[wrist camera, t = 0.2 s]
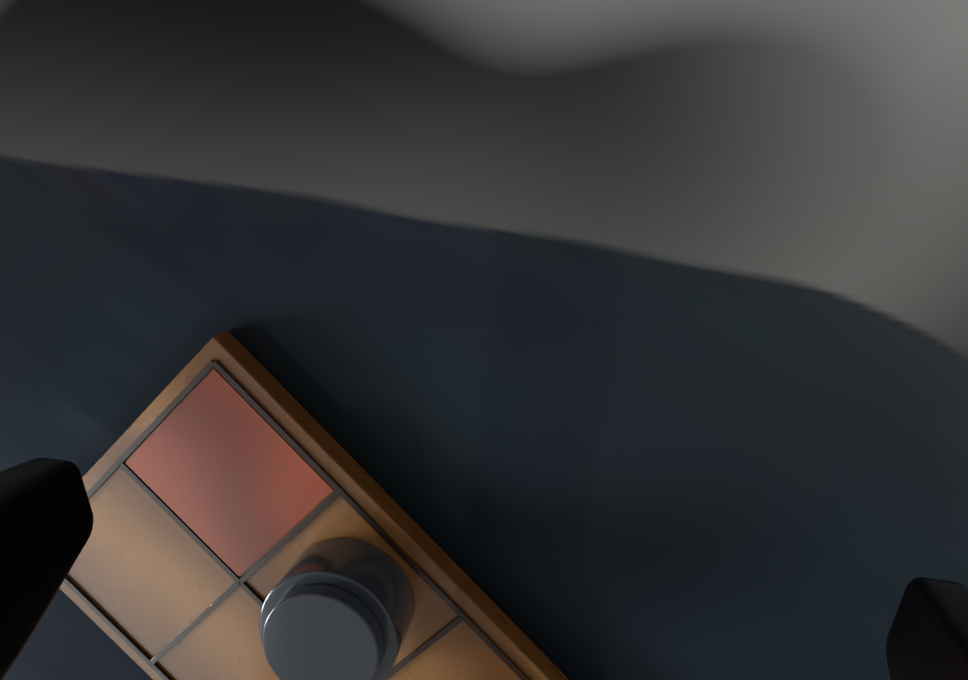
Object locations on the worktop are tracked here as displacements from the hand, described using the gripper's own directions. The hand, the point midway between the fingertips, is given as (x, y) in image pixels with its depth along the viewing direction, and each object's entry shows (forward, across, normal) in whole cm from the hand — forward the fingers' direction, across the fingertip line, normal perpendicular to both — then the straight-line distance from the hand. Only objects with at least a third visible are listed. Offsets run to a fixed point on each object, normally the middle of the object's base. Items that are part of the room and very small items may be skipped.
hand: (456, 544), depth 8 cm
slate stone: (+11, +6, +14) cm, 19 cm away
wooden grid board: (+12, +8, +16) cm, 21 cm away
